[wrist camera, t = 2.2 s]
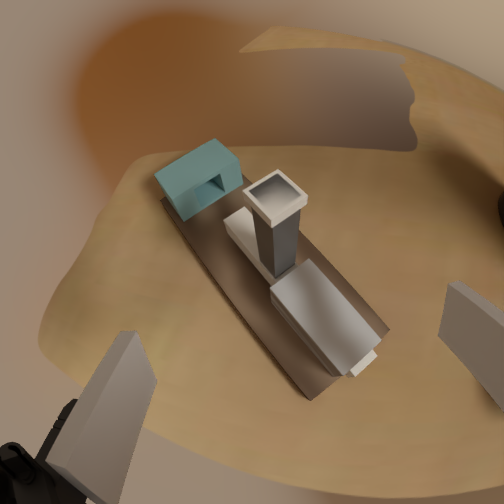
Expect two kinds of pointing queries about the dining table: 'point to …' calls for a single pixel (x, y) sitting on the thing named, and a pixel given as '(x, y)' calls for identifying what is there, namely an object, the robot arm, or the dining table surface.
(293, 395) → the dining table surface
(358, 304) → the long brown base plank
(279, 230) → the tube
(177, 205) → the socket
